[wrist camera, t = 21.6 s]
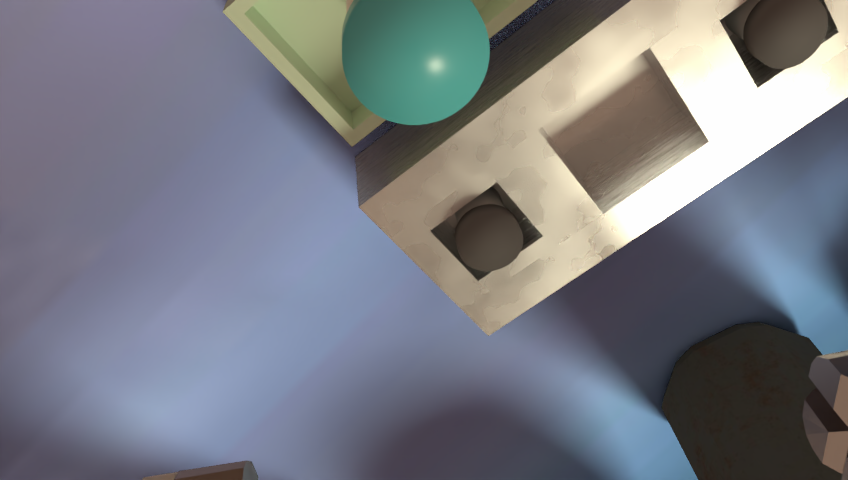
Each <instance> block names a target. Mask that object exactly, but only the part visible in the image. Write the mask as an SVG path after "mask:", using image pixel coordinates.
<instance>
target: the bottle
mask: <svg viewBox="0 0 848 480" xmlns="http://www.w3.org/2000/svg"><path fill="white" fill-rule="evenodd" d="M821 355H822V354H821V352H820V351H819V350H818V349H817V347H816V346H815V345H814V344H813V343H812V341H811V340H810V339H809V338H807V337H804V336H801V335H798V334H795V333H792V332H789V331H786V330H783V329H780V328H776V327H773V326H770V325H767V324H763V323H760V322H755V323H747V324H738V325H734V326H732V327H730V328H728V329H726V330H724V331H722V332H720V333H718V334H716V335H714V336H711V337H709V338H707V339H705V340H703V341H701V342H699V343H697V344H695V345H693V346H691V347H690V348H689V349H688V350H687V351H686V352H685V353H684V355H683V356H682V357H681V358H680V359H679V360H678V361H677V362H676V364H675V366H674V369H673V372H672V375H671V378H670V381H669V383H668V386H667V389H666V392H665V395H664V398H663V403H662V410H663V412H664V414H665V416H666V418H667V420H668V422H669V423H670V425H671V427H672V429H673V431H674V433H675V435H676V437H677V439H678V441H679V443H680V445H681V447H682V449H683V451H684V453H685V455H686V457H687V459H688V460H689V462H690V464H691V466H692V468H693V470H694V472H695V474H696V476H697V478H698V480H841V476H842V474H841V473H839V472H837V471H835V470H834V469H832V468H830V467H828V466H826V465H824V464H823V463H822V462H821V461H820V459H819V458H818V456H817V455H816V453H815V452H814V450H813V449H812V447H811V444H810V442H809V440H808V438H807V436H806V432H805V427H804V422H803V417H802V415H803V407H804V399H805V398H806V397H807V396H808V395H809V394H810V393H811V392H812V391H813V390H814V389H815V388H816V386H815V385H814V383H813V382H812V381H811V379H810V378H809V372H810V367H811V363H812V362H813V361H814V359H815V358H816V357H817V356H821Z"/></svg>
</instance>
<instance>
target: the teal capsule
mask: <svg viewBox="0 0 848 480" xmlns="http://www.w3.org/2000/svg"><path fill="white" fill-rule="evenodd" d="M489 57H490V43H489V38H488V33H487V30H486V27H485V24H484V22H483V20H482V18H481V16H480V14H479V12H478V10H477V8H476V7H475V5H474V3H473V2H472V0H346V16H345V20H344V23H343V29H342V63H343V70H344V73H345V77H346V80H347V82H348V84H349V86H350V88H351V90H352V91H353V93H354V95H355V96H356V97H357V99H358V100H359V101H360V102H361V103H362V104H363V105H364V106H365V107H366V108H367V109H369V110H370V111H371V112H373V113H374V114H376V115H378V116H379V117H381V118H383V119H386V120H388V121H391V122H395V123H399V124H405V125H423V124H429V123H433V122H437V121H440V120H442V119H445V118H447V117H449V116H451V115H453V114H454V113H456V112H457V111H459V110H460V109H461V108H463V107H464V106H465V105H466V104H467V103H468V102H469V101H470V100H471V99H472V98H473V97H474V95H475V94H476V92H477V91H478V90H479V88H480V86H481V84H482V82H483V80H484V78H485V75H486V72H487V69H488V64H489Z"/></svg>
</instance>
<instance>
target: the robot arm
mask: <svg viewBox="0 0 848 480" xmlns="http://www.w3.org/2000/svg"><path fill="white" fill-rule="evenodd" d="M809 378H810V379H811V381H812V382H813V383H814V385H815V386H816V388H815V389H814V390H813V391H812V392H811V393H810V394H809V395H808V396H807V397H806V398H805V399H804V407H803V415H802V417H803V422H804V427H805V432H806V436H807V438H808V440H809V442H810V444H811V447H812V449H813V450H814V452H815V453H816V455H817V456H818V458H819V459H820V461H821V462H822V463H823V464H824V465H826V466H828V467H830V468H832V469H834V470H835V471H837V472H839V473H841V474H842V476H841V480H848V350H846V351H841V352H836V353H831V354H826V355H821V356H817V357H816V358H815V359H814V361H813V362H812V363H811V367H810V372H809ZM142 480H258V475H257V472H256V470H255V468H254V465H253V463H252V461H241V462H234V463H228V464H222V465H215V466H209V467H202V468H196V469H189V470H183V471H179V472H174V473H168V474H161V475H155V476H149V477H144V478H143V479H142Z"/></svg>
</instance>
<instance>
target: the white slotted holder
mask: <svg viewBox="0 0 848 480" xmlns="http://www.w3.org/2000/svg"><path fill="white" fill-rule="evenodd" d="M746 1H747V0H555V1H554V2H553V3H551V4H550V5H549V6H548V7H546V8H545V9H544V10H542V11H541V12H540V13H539V14H537V15H536V16H535V17H534V18H532V19H531V20H530V21H528V22H527V23H526V24H525V25H523V26H522V27H521V28H519V29H518V30H517V31H516V32H514V33H513V34H512V35H511V36H509V37H508V38H507V39H505V40H504V41H503V42H502V43H500V44H499V45H498V46H496V47H495V48H494V49H493V50H491V51H490V57H489V64H488V69H487V72H486V75H485V78H484V80H483V82H482V84H481V86H480V88H479V90H478V91H477V92H476V94H475V95H474V97H473V98H472V99H471V100H470V101H469V102H468V103H467V104H466V105H465V106H464V107H463V108H461V109H460V110H459V111H457V112H456V113H454V114H453V115H451V116H449V117H447V118H445V119H442V120H440V121H437V122H433V123H429V124H423V125H405V124H399V123H398V124H397V125H396V126H394V127H393V128H392V129H390V130H389V131H388V132H387V133H385V134H384V135H383V136H381V137H380V138H379V139H378V140H376V141H375V142H374V143H373V144H371V145H370V146H369V147H367V148H366V149H365V150H364V151H362V152H361V153H360V154H358V155H357V156H356V157H355V163H356V177H357V190H358V203H359V208H360V209H361V210H362V211H363V212H364V213H365V214H366V215H367V216H368V217H369V218H370V219H371V220H372V221H373V222H374V223H375V224H376V225H377V226H378V227H379V228H380V229H381V230H382V231H383V232H384V233H385V234H386V235H387V236H388V237H389V238H390V239H391V240H392V241H393V242H394V243H395V244H396V245H397V246H398V247H399V248H400V249H401V250H402V251H403V252H404V253H405V254H406V255H407V256H408V257H410V258H411V259H412V260H413V261H414V262H415V263H416V264H417V265H418V266H419V267H420V268H421V269H422V270H423V271H424V272H425V273H426V274H427V275H428V276H429V277H430V278H431V279H432V280H433V281H434V282H435V283H436V284H437V285H438V286H439V287H440V288H441V289H442V290H443V291H444V292H445V293H446V294H447V295H448V296H449V297H450V298H451V299H452V300H453V301H454V302H455V303H456V304H457V305H458V306H459V307H460V308H461V309H462V310H463V311H464V312H465V313H466V314H467V315H468V316H469V317H470V318H471V319H472V320H473V321H474V322H475V323H476V324H477V325H478V326H479V327H480V328H481V329H482V330H483V331H484V332H485V333H486V334H487V335H488V336H489V335H491V334H492V333H494V332H495V331H497V330H498V329H500V328H501V327H503V326H504V325H506V324H507V323H509V322H510V321H512V320H513V319H515V318H516V317H518V316H519V315H521V314H522V313H524V312H525V311H527V310H528V309H530V308H531V307H533V306H534V305H536V304H537V303H539V302H540V301H542V300H543V299H545V298H546V297H548V296H549V295H551V294H552V293H554V292H555V291H557V290H558V289H560V288H561V287H563V286H564V285H566V284H567V283H569V282H570V281H572V280H573V279H575V278H576V277H578V276H579V275H581V274H582V273H584V272H585V271H587V270H588V269H590V268H591V267H593V266H594V265H596V264H597V263H599V262H600V261H602V260H603V259H605V258H606V257H608V256H609V255H611V254H612V253H614V252H615V251H617V250H618V249H620V248H621V247H623V246H624V245H626V244H627V243H629V242H630V241H632V240H633V239H635V238H636V237H638V236H639V235H641V234H642V233H644V232H645V231H647V230H648V229H650V228H651V227H653V226H654V225H656V224H657V223H659V222H660V221H662V220H663V219H665V218H666V217H668V216H669V215H671V214H672V213H674V212H675V211H677V210H678V209H680V208H681V207H683V206H684V205H686V204H687V203H689V202H690V201H692V200H693V199H695V198H697V197H698V196H700V195H701V194H703V193H704V192H706V191H707V190H709V189H710V188H712V187H713V186H715V185H716V184H718V183H719V182H721V181H722V180H724V179H725V178H727V177H728V176H730V175H731V174H733V173H734V172H736V171H737V170H739V169H740V168H742V167H743V166H745V165H746V164H748V163H749V162H751V161H752V160H754V159H755V158H757V157H758V156H760V155H761V154H763V153H764V152H766V151H767V150H769V149H770V148H772V147H773V146H775V145H776V144H778V143H779V142H781V141H782V140H784V139H785V138H787V137H788V136H790V135H791V134H793V133H794V132H796V131H797V130H799V129H800V128H802V127H803V126H805V125H806V124H808V123H809V122H811V121H812V120H814V119H815V118H817V117H818V116H820V115H821V114H823V113H824V112H826V111H827V110H829V109H830V108H832V107H833V106H835V105H836V104H838V103H839V102H841V101H842V100H844V99H845V98H847V97H848V0H818V1H820V2H821V3H822V5H823V6H824V8H825V9H826V12H827V16H828V27H827V32H826V35H825V37H824V39H823V41H822V43H821V45H820V46H819V48H818V49H817V50H816V51H815V53H814V54H813V55H812V56H810V57H809V58H808V59H807V60H805V61H804V62H802V63H801V64H799V65H797V66H794V67H791V68H787V69H775V68H771V67H769V66H767V65H765V64H764V63H762V62H761V61H759V60H758V59H757V58H755V57H754V56H752V55H751V54H750V53H749V52H748V50H747V49H746V46H745V44H744V40H743V39H741V38H740V37H738V36H737V35H736V34H734V33H733V32H731V31H730V30H729V29H728V27H727V26H726V24H725V20H724V17H725V16H727V15H728V14H729V13H731V12H732V11H733V10H735V9H736V8H738V7H739V6H740V5H742V4H743V3H744V2H746ZM490 187H493V188H494V189H496V190H497V191H498V193H499V194H500V196H501V199H502V201H503V204H504V206H505V208H507V209H508V210H510V211H511V212H512V213H513V214H514V216H515V217H516V219H517V221H518V224H519V226H520V229H521V231H522V234H523V246H522V249H521V251H520V253H519V255H518V256H517V258H516V259H515V260H514V261H513V262H511V263H510V264H509V265H507V266H505V267H503V268H501V269H498V270H494V271H480V270H476V269H473V268H471V267H469V266H468V265H467V264H465V263H464V261H463V260H462V259H461V257H460V255H459V252H458V248H457V245H456V241H455V229H456V226H457V220H456V217H455V212H457V211H458V210H459V209H461V208H462V207H464V206H465V205H466V204H468V203H469V202H470V201H472V200H473V199H475V198H476V197H477V196H479V195H480V194H481V193H483V192H484V191H486V190H487V189H488V188H490Z"/></svg>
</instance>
